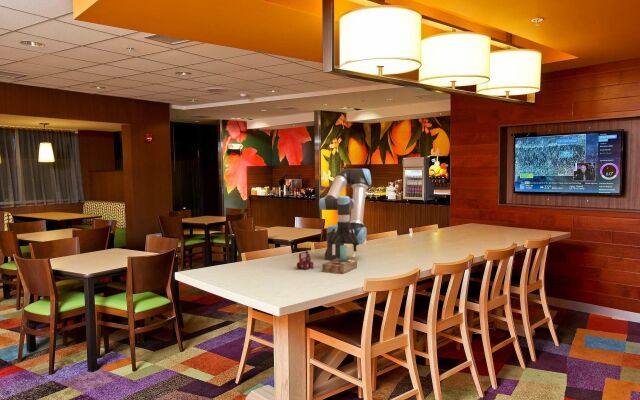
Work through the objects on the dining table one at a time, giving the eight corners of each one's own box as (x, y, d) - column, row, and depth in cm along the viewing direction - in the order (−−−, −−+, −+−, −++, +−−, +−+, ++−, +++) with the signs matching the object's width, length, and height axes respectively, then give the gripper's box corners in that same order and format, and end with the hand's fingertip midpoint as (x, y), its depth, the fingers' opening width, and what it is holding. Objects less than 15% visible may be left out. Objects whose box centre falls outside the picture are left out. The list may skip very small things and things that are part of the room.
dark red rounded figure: (315, 267, 300) (315, 250, 299) (304, 270, 289) (304, 253, 289) (305, 266, 303) (305, 249, 303) (295, 269, 293) (295, 252, 292)
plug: (339, 267, 296) (338, 246, 295) (341, 265, 299) (341, 245, 298) (345, 267, 294) (344, 246, 293) (347, 266, 297) (347, 245, 296)
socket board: (322, 271, 286) (322, 263, 286) (336, 265, 304) (336, 257, 304) (343, 273, 280) (343, 265, 280) (357, 267, 298) (357, 259, 297)
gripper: (322, 221, 297) (322, 255, 298) (359, 223, 285) (359, 258, 287) (328, 219, 304) (328, 253, 305) (364, 221, 292) (364, 256, 293)
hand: (343, 255), depth 296 cm, fingers open, 13 cm apart
